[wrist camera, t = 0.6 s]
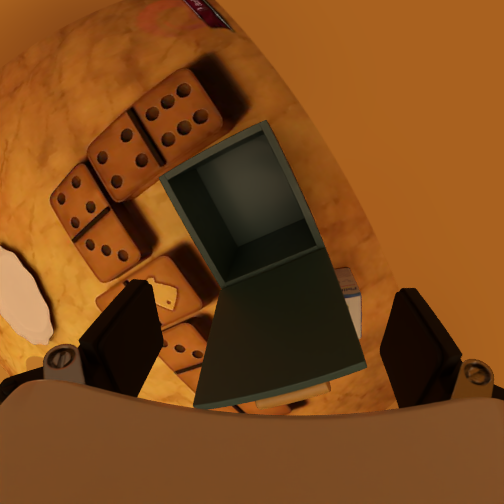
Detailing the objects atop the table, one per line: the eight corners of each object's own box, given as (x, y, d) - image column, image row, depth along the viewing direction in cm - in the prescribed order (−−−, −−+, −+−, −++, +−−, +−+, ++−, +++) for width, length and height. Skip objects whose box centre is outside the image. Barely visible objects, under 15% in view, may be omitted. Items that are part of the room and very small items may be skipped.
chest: (190, 165, 39) (158, 177, 28) (269, 125, 36) (266, 119, 25) (236, 251, 43) (222, 290, 32) (313, 218, 40) (326, 248, 29)
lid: (192, 406, 18) (227, 434, 20) (365, 361, 15) (376, 397, 17) (220, 289, 32) (241, 321, 34) (325, 247, 29) (339, 284, 31)
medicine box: (351, 307, 45) (362, 339, 37) (325, 311, 46) (332, 344, 38) (349, 265, 43) (362, 294, 35) (321, 270, 43) (329, 300, 35)
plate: (64, 355, 60) (60, 361, 58) (1, 315, 59) (-3, 319, 57) (49, 263, 48) (42, 267, 46) (-17, 230, 48) (-22, 233, 45)
